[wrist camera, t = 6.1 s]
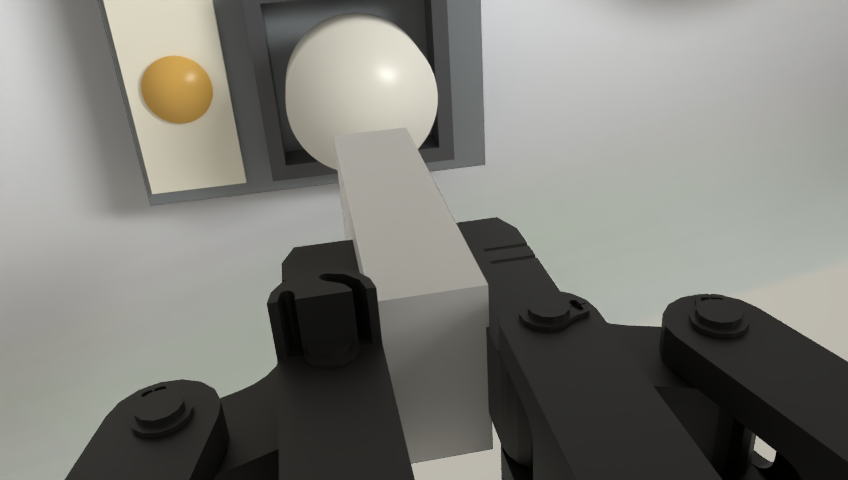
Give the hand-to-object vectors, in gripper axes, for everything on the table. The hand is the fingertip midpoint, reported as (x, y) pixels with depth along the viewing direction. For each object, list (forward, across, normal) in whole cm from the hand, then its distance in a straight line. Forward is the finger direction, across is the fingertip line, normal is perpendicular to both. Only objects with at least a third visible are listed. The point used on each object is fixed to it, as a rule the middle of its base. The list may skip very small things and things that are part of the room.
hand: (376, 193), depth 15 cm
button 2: (+9, 0, 0) cm, 9 cm away
